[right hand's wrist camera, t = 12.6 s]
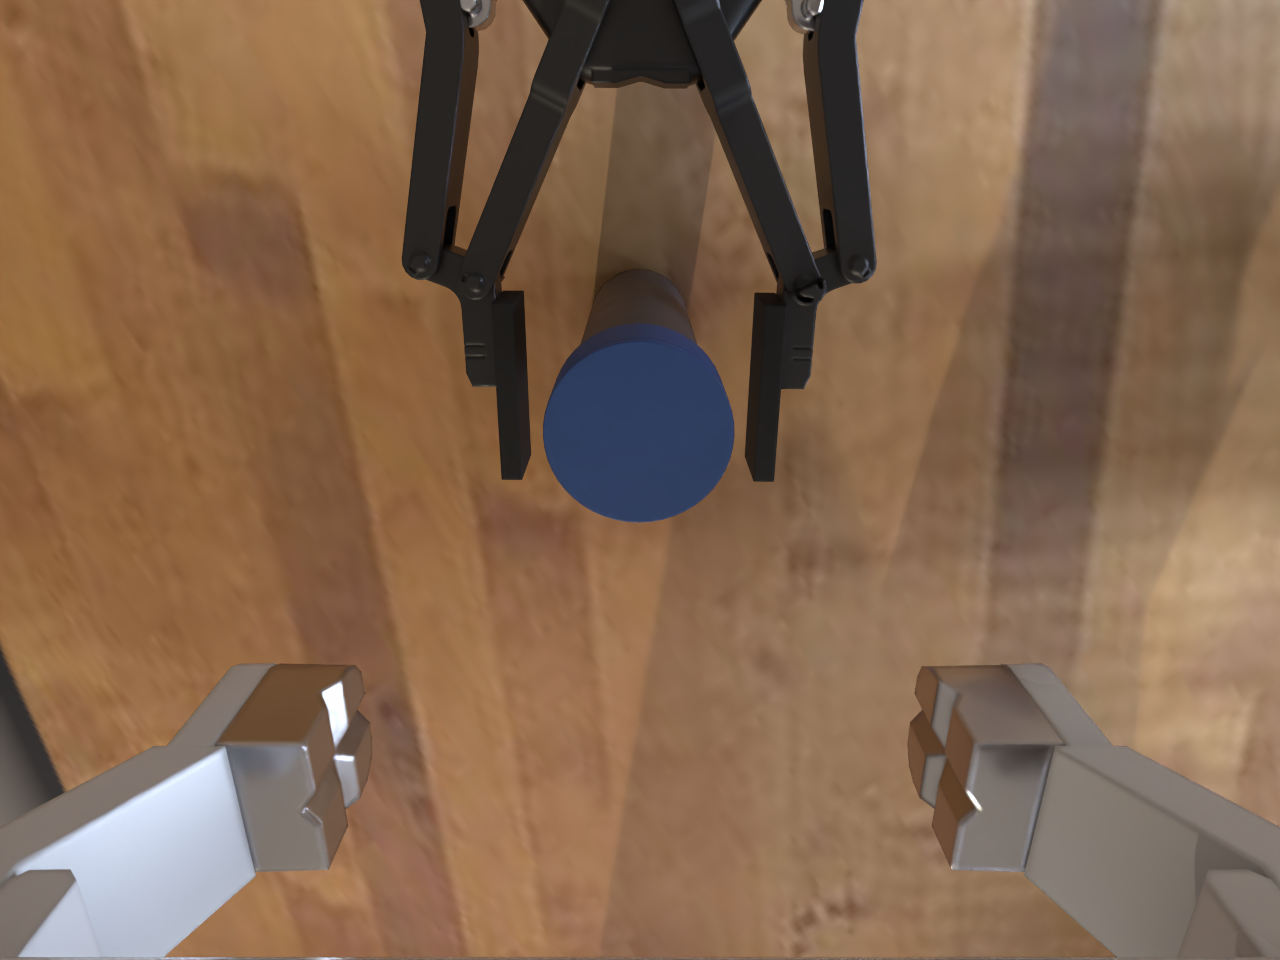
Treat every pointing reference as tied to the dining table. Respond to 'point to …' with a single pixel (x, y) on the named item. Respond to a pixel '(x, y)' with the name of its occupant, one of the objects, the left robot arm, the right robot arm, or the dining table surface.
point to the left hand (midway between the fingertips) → (637, 467)
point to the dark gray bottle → (638, 304)
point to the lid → (638, 424)
